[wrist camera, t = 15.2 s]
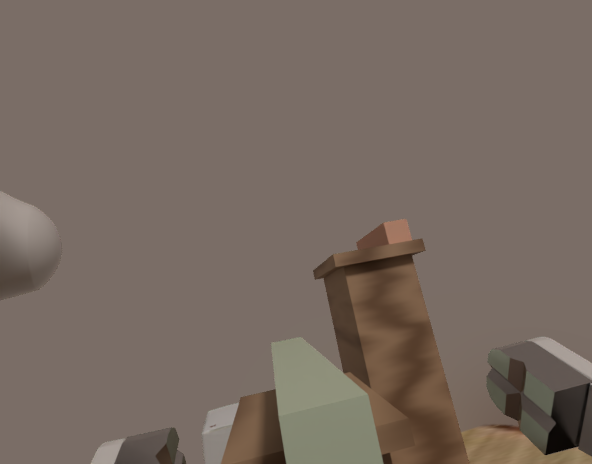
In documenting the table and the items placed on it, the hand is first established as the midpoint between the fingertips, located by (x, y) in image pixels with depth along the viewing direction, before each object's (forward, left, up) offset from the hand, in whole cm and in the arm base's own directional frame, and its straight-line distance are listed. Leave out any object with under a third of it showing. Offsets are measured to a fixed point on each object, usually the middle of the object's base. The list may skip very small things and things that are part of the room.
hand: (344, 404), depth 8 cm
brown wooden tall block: (+10, +26, -20) cm, 34 cm away
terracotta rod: (+13, +26, +6) cm, 30 cm away
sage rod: (0, +13, -4) cm, 14 cm away
